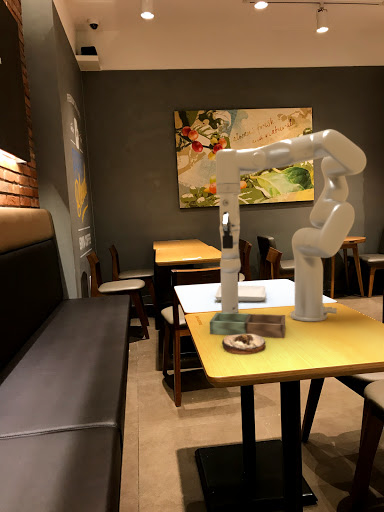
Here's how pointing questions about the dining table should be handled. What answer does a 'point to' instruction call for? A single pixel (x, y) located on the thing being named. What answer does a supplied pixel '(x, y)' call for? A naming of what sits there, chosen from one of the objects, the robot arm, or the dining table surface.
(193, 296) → the dining table surface
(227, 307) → the travel mug
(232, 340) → the sushi roll
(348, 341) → the dining table surface
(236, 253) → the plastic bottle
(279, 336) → the dock
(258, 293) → the salad plate
